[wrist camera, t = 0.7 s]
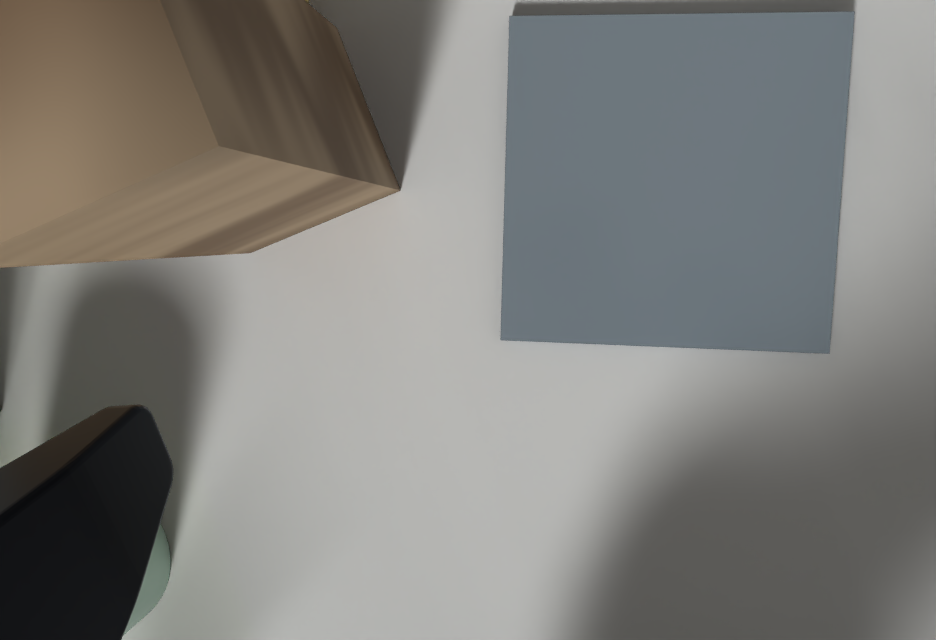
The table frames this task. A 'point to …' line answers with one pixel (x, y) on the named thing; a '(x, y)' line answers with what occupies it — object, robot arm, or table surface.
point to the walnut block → (176, 129)
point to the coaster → (675, 179)
